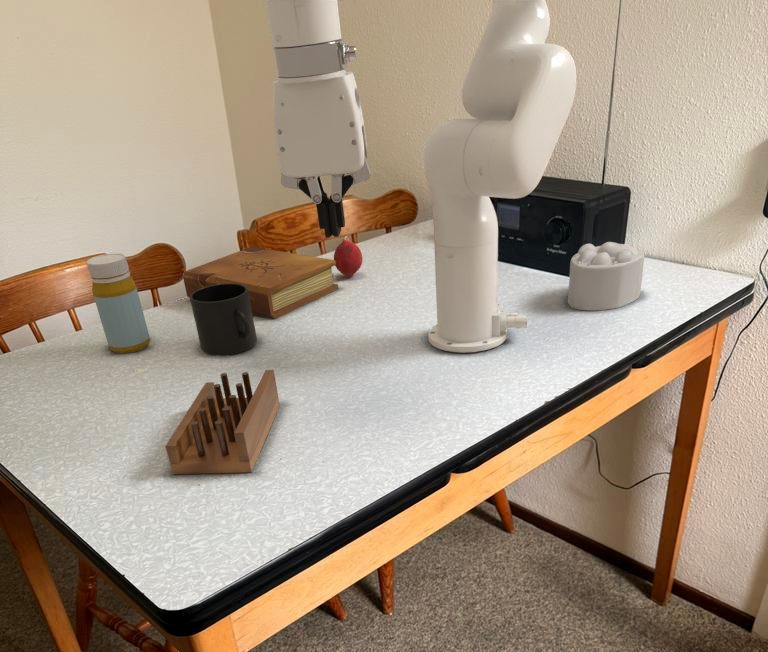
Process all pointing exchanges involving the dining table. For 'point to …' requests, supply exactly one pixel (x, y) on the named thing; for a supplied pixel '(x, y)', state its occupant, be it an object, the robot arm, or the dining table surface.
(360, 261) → the onion
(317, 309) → the dining table surface
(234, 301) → the mug
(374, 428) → the dining table surface
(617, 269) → the lumpy-topped squat cylinder
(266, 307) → the diary
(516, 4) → the robot arm
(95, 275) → the bottle
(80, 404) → the dining table surface
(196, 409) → the rack
